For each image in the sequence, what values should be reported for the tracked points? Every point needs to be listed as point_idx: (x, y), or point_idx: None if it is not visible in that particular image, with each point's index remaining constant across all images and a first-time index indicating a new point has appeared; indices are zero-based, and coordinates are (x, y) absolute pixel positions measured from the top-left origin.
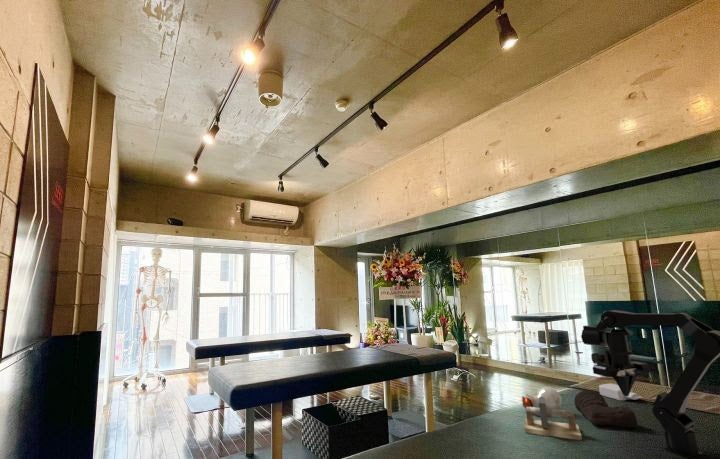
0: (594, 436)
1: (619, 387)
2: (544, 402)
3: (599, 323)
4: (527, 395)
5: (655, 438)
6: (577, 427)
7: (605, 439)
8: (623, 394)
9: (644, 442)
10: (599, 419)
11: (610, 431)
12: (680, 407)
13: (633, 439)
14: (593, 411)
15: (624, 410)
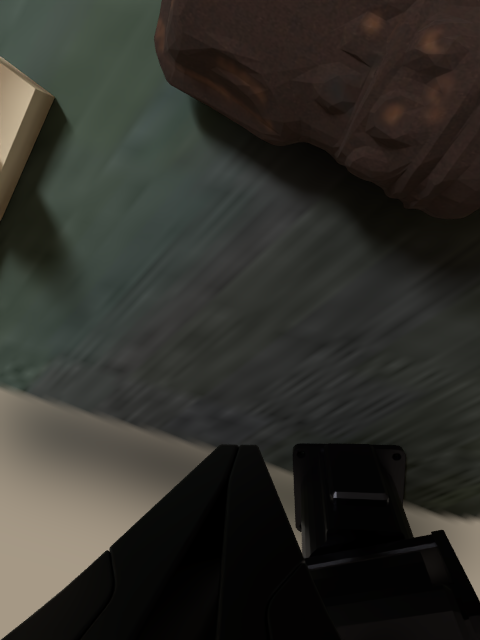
0: (81, 227)
1: (143, 519)
2: None
3: None
4: None
5: (391, 342)
6: (5, 140)
7: (111, 279)
8: (215, 455)
9: (277, 364)
10: (208, 89)
11: (231, 183)
12: None
13: (257, 319)
14: (185, 9)
15: (437, 147)
